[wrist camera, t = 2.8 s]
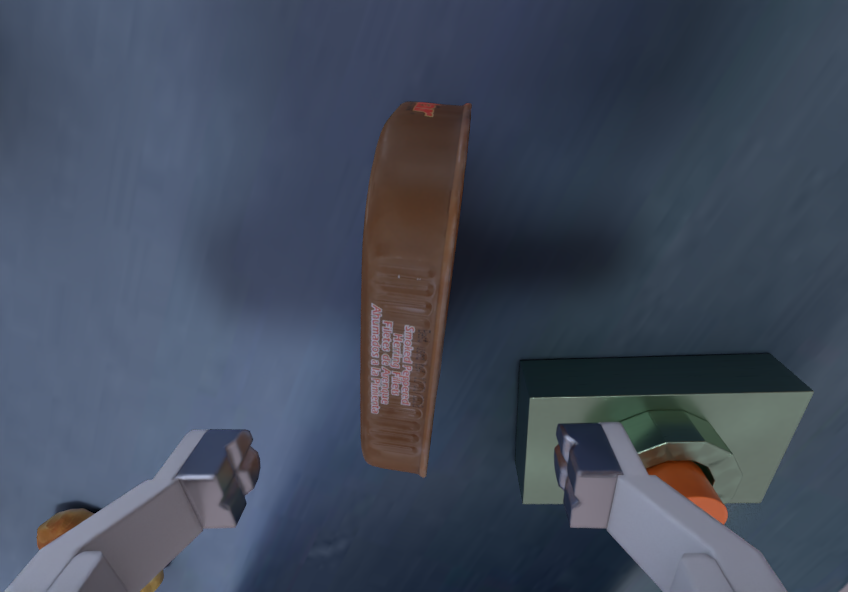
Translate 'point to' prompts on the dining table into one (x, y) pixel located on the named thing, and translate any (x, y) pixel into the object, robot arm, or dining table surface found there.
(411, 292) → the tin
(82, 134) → the dining table surface
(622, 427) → the robot arm
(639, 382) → the console
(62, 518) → the pastry
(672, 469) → the button
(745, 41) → the dining table surface
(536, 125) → the dining table surface
